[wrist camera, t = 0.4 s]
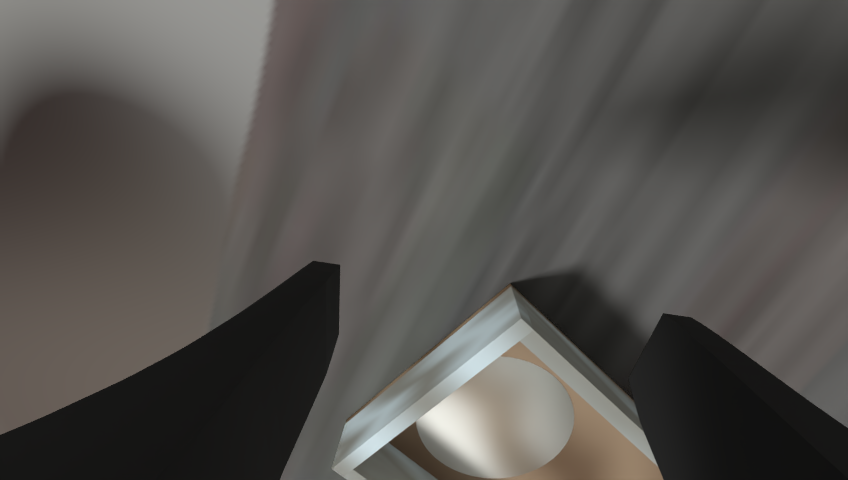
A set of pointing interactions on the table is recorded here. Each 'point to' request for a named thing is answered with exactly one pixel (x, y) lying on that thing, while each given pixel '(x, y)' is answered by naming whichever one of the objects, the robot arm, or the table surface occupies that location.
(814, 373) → the table surface
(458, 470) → the pen board
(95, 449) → the robot arm
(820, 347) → the table surface
